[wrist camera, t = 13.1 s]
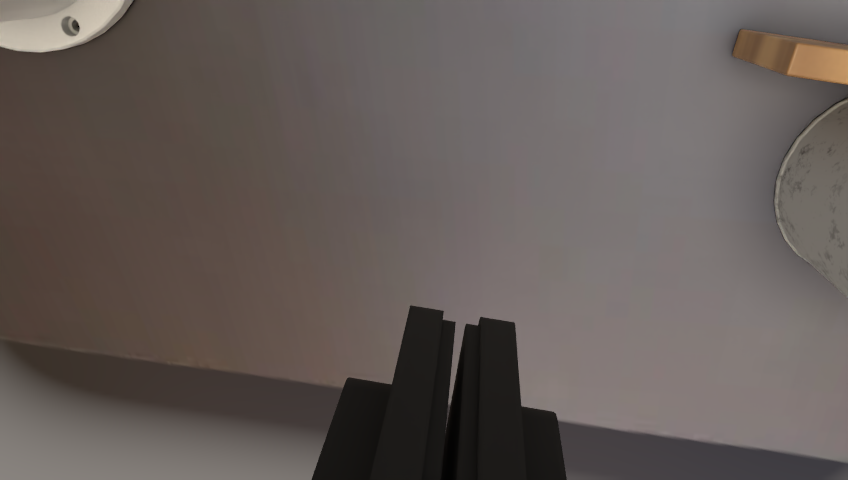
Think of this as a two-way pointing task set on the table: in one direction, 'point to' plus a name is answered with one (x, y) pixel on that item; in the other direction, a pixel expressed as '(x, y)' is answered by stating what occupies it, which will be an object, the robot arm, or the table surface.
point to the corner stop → (794, 55)
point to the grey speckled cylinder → (818, 195)
